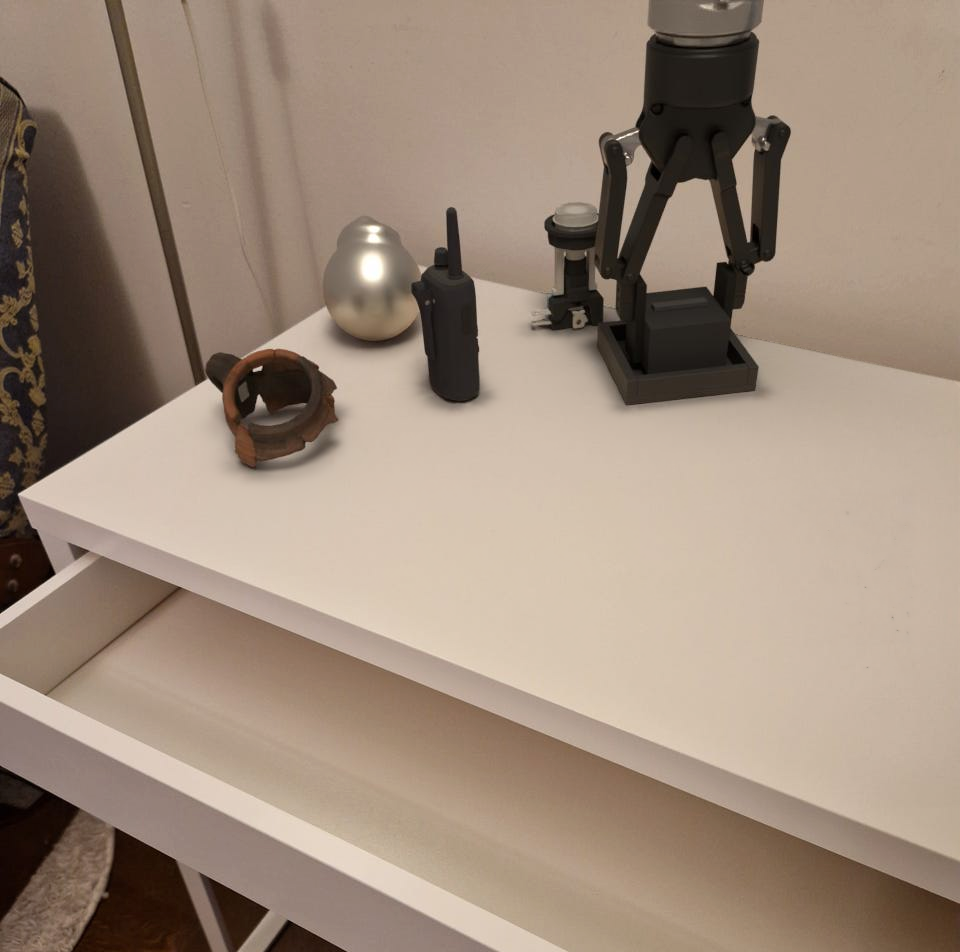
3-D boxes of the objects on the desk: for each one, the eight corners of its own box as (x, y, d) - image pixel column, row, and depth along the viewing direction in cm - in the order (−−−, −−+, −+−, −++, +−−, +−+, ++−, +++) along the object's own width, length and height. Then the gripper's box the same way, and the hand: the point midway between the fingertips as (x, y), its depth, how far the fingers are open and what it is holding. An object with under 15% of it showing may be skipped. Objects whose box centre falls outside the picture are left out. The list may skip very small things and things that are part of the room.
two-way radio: (488, 398, 82) (479, 209, 72) (440, 414, 80) (424, 223, 70) (456, 371, 85) (442, 188, 75) (409, 386, 84) (389, 201, 74)
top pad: (701, 331, 86) (706, 281, 83) (725, 366, 81) (732, 314, 78) (627, 339, 85) (630, 289, 82) (647, 375, 81) (650, 324, 78)
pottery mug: (372, 419, 81) (356, 363, 73) (311, 514, 79) (287, 467, 71) (248, 359, 83) (219, 298, 75) (185, 450, 81) (149, 397, 73)
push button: (539, 342, 88) (539, 227, 82) (523, 316, 92) (521, 205, 86) (611, 330, 89) (616, 216, 83) (592, 306, 93) (596, 195, 87)
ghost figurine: (442, 315, 93) (434, 205, 87) (407, 363, 87) (394, 247, 80) (353, 307, 96) (338, 199, 89) (312, 352, 89) (292, 240, 82)
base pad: (714, 332, 88) (717, 309, 87) (755, 390, 81) (759, 366, 79) (596, 345, 88) (597, 322, 86) (626, 405, 80) (627, 381, 78)
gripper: (572, 59, 64) (569, 385, 80) (865, 31, 65) (806, 358, 81) (550, 33, 70) (552, 343, 85) (821, 8, 71) (773, 318, 86)
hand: (675, 350), depth 83 cm, fingers closed on top pad, 6 cm apart
